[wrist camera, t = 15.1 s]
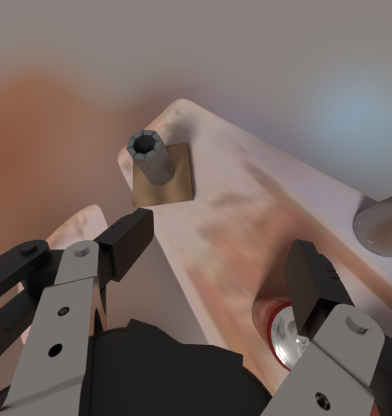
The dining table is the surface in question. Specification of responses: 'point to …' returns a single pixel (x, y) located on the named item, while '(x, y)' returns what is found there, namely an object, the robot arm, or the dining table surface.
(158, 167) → the sleeve
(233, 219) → the dining table surface
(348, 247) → the dining table surface
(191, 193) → the stand
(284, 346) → the soda can
